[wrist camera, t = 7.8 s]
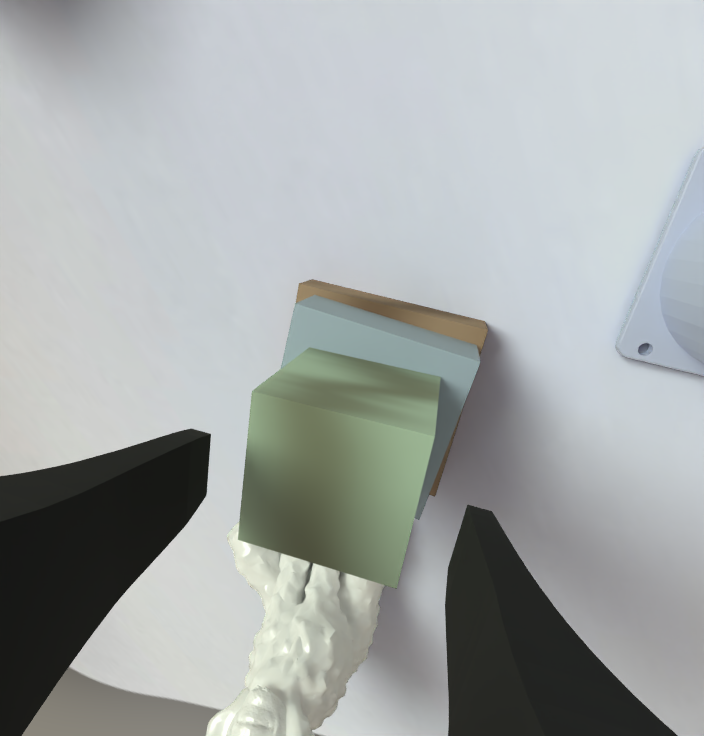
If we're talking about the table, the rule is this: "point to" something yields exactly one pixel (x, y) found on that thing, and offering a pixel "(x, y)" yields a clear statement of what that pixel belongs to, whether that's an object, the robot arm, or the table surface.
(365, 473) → the green cube
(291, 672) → the seated beast figurine
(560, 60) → the table surface
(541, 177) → the table surface
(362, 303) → the walnut slab
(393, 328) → the slate blue slab
